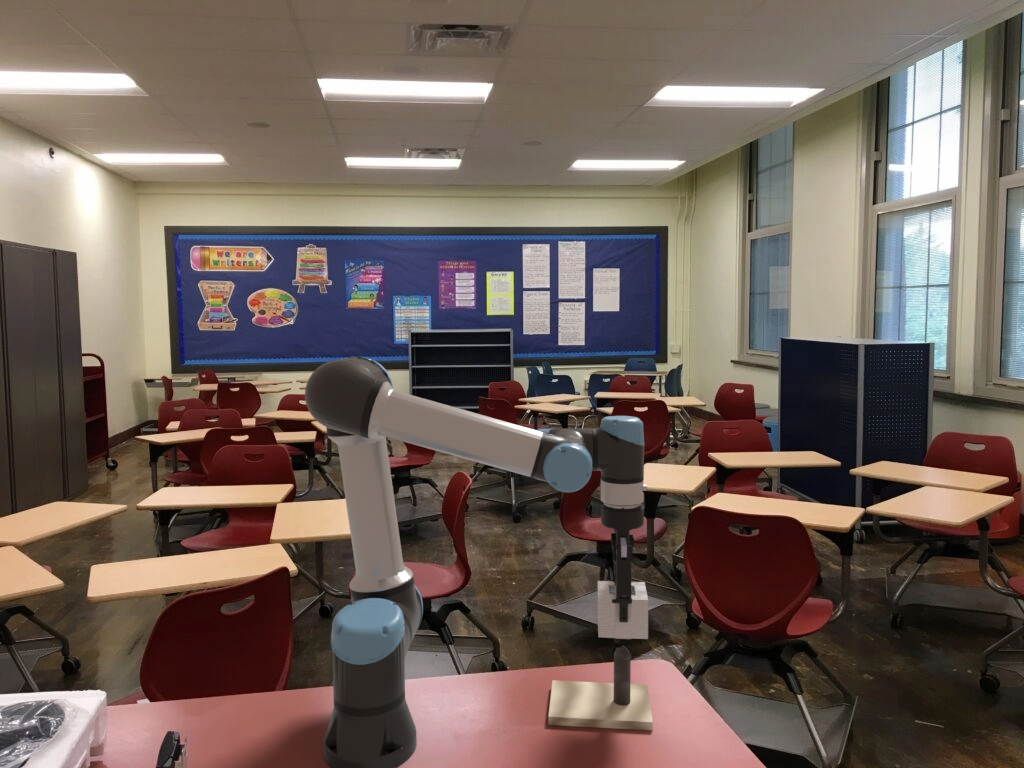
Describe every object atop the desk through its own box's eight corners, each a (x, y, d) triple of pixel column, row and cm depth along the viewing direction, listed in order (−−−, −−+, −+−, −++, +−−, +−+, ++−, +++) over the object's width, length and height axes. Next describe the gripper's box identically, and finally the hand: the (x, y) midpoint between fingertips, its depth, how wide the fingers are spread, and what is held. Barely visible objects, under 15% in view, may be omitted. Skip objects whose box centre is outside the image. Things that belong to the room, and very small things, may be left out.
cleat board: (548, 724, 126) (548, 661, 125) (552, 687, 139) (552, 630, 138) (652, 730, 124) (653, 666, 123) (647, 692, 137) (647, 633, 136)
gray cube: (598, 637, 126) (598, 598, 126) (597, 617, 135) (597, 581, 134) (648, 639, 125) (648, 599, 125) (644, 618, 134) (644, 582, 133)
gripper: (648, 520, 117) (647, 654, 119) (639, 489, 138) (639, 604, 140) (601, 519, 118) (601, 652, 120) (600, 489, 139) (600, 603, 141)
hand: (622, 626), depth 130 cm, fingers closed on gray cube, 9 cm apart
